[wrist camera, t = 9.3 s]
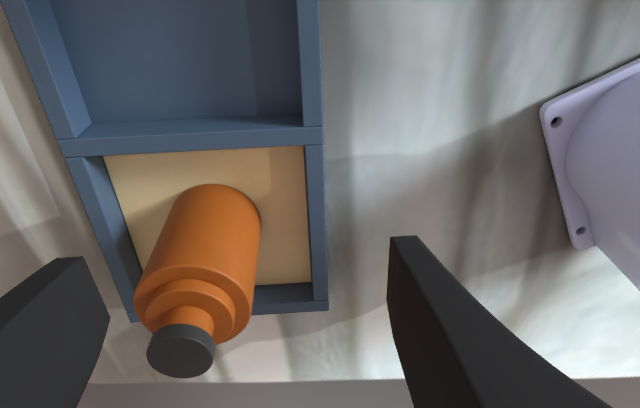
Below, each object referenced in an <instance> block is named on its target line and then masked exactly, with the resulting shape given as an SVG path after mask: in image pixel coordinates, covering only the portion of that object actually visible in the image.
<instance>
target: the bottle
mask: <svg viewBox="0 0 640 408" xmlns="http://www.w3.org/2000/svg"><path fill="white" fill-rule="evenodd" d="M260 233H261V217H260V214H259V211H258V209H257V207H256V206H255V204H254V203H253V202H252V201H251V199H250V198H249V197H247V196H246V195H245V194H244V193H242V192H241V191H239V190H237V189H235V188H232V187H230V186H226V185H221V184H202V185H198V186H194V187H192V188H190V189H188V190H186V191H185V192H183V193H182V194H181V195H180V196H179V197H178V198H177V199H176V200H175V202H174V204H173V206H172V208H171V210H170V213H169V215H168V217H167V219H166V222H165V224H164V226H163V229H162V231H161V233H160V235H159V238H158V240H157V242H156V244H155V247H154V249H153V251H152V253H151V256H150V258H149V260H148V262H147V265H146V267H145V269H144V272H143V274H142V276H141V278H140V281H139V283H138V285H137V287H136V290H135V292H134V297H133V303H134V309H135V312H136V315H137V316H138V318H139V320H140V321H141V322H142V324H143V325H144V326H145V327H146V328H147V329H148V330H150V331H151V332H152V333H153V335H152V337H151V340H150V343H149V346H148V349H147V352H146V356H147V360H148V362H149V364H150V365H151V366H152V367H153V368H154V369H155V370H156V371H158V372H160V373H162V374H164V375H167V376H170V377H175V378H191V377H196V376H199V375H201V374H203V373H205V372H206V371H207V370H208V369H209V368H210V367H211V365H212V363H213V359H214V354H215V348H216V346H215V345H217V344H220V343H223V342H226V341H228V340H230V339H232V338H234V337H235V336H237V335H238V334H239V333H240V332H241V331H242V330H243V329H244V328H245V327H246V325H247V324H248V322H249V320H250V317H251V312H252V303H253V295H254V286H255V277H256V268H257V259H258V251H259V242H260Z"/></svg>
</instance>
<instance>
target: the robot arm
mask: <svg viewBox="0 0 640 408" xmlns="http://www.w3.org/2000/svg"><path fill="white" fill-rule="evenodd" d="M539 116H540V120H541V124H542V128H543V132H544V136H545V140H546V144H547V148H548V152H549V156H550V160H551V164H552V168H553V172H554V176H555V180H556V184H557V188H558V192H559V196H560V200H561V204H562V208H563V212H564V216H565V220H566V224H567V228H568V232H569V236H570V240H571V244H572V245H573V246H574V248H575V249H577V250H584V249H587V248H590V247H593V246H595V245H597V246H598V247H599V249H600V250H601V251H602V252H603V253H604V254H605V255H606V256H607V257H608V258H609V259H610V260H611V261H612V262H613V263H614V264H615V265H616V266H617V267H618V269H619V270H620V271H621V272H622V273H623V274H624V275H625V276H626V277H627V278H628V279H629V280H630V281H631V282H632V283H633V284H634V285H635V286H636V287H637V288H638V290H639V291H640V58H639V59H637V60H634V61H632V62H630V63H628V64H626V65H624V66H622V67H620V68H617V69H615V70H613V71H611V72H609V73H607V74H605V75H602V76H600V77H598V78H596V79H594V80H592V81H590V82H588V83H585V84H583V85H581V86H579V87H577V88H575V89H573V90H571V91H568V92H566V93H564V94H562V95H560V96H558V97H556V98H553V99H551V100H549V101H547V102H546V103H544V104H543V106H542V107H541V109H540V111H539ZM556 117H558V119H557V121H556V122H555V123H554V124H551V121H552V120H553V119H554V118H556ZM580 227H581V228H580ZM578 228H580V229H579V230H577V229H578ZM386 300H387V305H388V311H389V317H390V323H391V328H392V333H393V338H394V342H395V345H396V349H397V352H398V355H399V359H400V362H401V365H402V369H403V372H404V375H405V379H406V382H407V385H408V389H409V392H410V395H411V398H412V402H413V405H414V408H612V407H611V406H610V405H608V404H607V403H605V402H603V401H602V400H601V399H599V398H598V397H596V396H595V395H593V394H592V393H591V392H589V391H588V390H586V389H585V388H583V387H582V386H580V385H579V384H577V383H576V382H574V381H573V380H572V379H570V378H569V377H568V376H566V375H565V374H563V373H562V372H561V371H559V370H558V369H557V368H555V367H554V366H553V365H551V364H550V363H549V362H548V361H546V360H545V359H544V358H542V357H541V356H540V355H539V354H537V353H536V352H535V351H534V350H532V349H531V348H530V347H528V346H527V345H526V344H525V343H524V342H522V341H521V340H520V339H519V338H518V337H517V336H515V335H514V334H513V333H512V332H511V331H510V330H508V329H507V328H506V327H505V326H504V325H503V324H502V323H501V322H500V321H498V320H497V319H496V318H495V317H494V316H493V315H492V314H491V313H490V312H489V311H488V310H487V309H485V308H484V307H483V306H482V305H481V304H480V303H479V302H478V301H477V300H476V299H475V298H474V297H473V296H472V295H471V294H470V293H469V292H468V291H467V290H466V289H465V288H464V287H463V286H462V285H461V284H460V283H459V282H458V281H457V280H456V279H455V278H454V276H453V275H452V274H451V273H450V272H449V271H448V270H447V269H446V268H445V267H444V266H443V265H442V263H441V262H440V261H439V260H438V259H437V258H436V257H435V256H434V255H433V253H432V252H431V251H430V250H429V249H428V248H427V247H426V245H425V244H424V243H423V242H422V241H421V240H420V239H419V238H418V237H417V236H416V235H415V236H399V237H390V248H389V265H388V282H387V298H386ZM109 321H110V315H109V313H108V311H107V309H106V306H105V304H104V302H103V300H102V298H101V295H100V293H99V291H98V289H97V287H96V284H95V282H94V280H93V278H92V276H91V273H90V271H89V269H88V267H87V264H86V262H85V260H84V258H83V256H82V257H66V258H56V259H55V260H53V261H51V262H50V263H48V264H47V265H45V266H44V267H42V268H41V269H39V270H38V271H37V272H35V273H34V274H32V275H31V276H30V277H28V278H27V279H25V280H24V281H23V282H21V283H20V284H19V285H17V286H16V287H15V288H13V289H12V290H11V291H9V292H8V293H7V294H5V295H4V296H2V297H1V298H0V408H76V407H77V405H78V403H79V401H80V398H81V396H82V394H83V392H84V390H85V387H86V385H87V383H88V381H89V378H90V376H91V374H92V372H93V369H94V367H95V365H96V363H97V360H98V358H99V355H100V352H101V348H102V345H103V342H104V339H105V335H106V332H107V328H108V325H109Z"/></svg>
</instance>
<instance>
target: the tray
mask: <svg viewBox="0 0 640 408" xmlns="http://www.w3.org/2000/svg"><path fill="white" fill-rule="evenodd" d="M0 2H1V4H2V7H3V9H4V12H5V14H6V17H7V19H8V22H9V24H10V27H11V29H12V32H13V34H14V37H15V39H16V41H17V44H18V46H19V49H20V51H21V54H22V56H23V59H24V61H25V64H26V66H27V69H28V71H29V74H30V76H31V78H32V81H33V83H34V86H35V88H36V91H37V93H38V96H39V98H40V101H41V103H42V106H43V108H44V111H45V113H46V115H47V118H48V120H49V123H50V125H51V128H52V130H53V133H54V135H55V138H56V139H57V143H58V145H59V148H60V150H61V153H62V155H63V157H64V158H65V162H66V164H67V166H68V169H69V171H70V174H71V176H72V179H73V181H74V184H75V186H76V189H77V191H78V194H79V196H80V199H81V201H82V204H83V206H84V208H85V211H86V213H87V216H88V218H89V221H90V223H91V226H92V228H93V231H94V233H95V236H96V238H97V241H98V243H99V245H100V248H101V250H102V253H103V255H104V258H105V260H106V263H107V265H108V268H109V270H110V273H111V275H112V278H113V280H114V282H115V285H116V287H117V290H118V292H119V295H120V297H121V300H122V302H123V305H124V307H125V310H126V312H127V315H128V317H129V320H130V322H131V323H132V322H141V321H140V320H139V318H138V316H137V315H136V312H135V309H134V303H133V297H134V292H135V290H136V287H137V285H138V283H139V281H140V278H141V276H142V274H143V272H144V269H145V267H146V265H147V262H148V260H149V258H150V256H151V253H152V251H153V249H154V247H155V244H156V242H157V240H158V238H159V235H160V233H161V231H162V229H163V226H164V224H165V222H166V219H167V217H168V215H169V213H170V210H171V208H172V206H173V204H174V202H175V200H176V199H177V198H178V197H179V196H180V195H181V194H182V193H183V192H185V191H186V190H188V189H190V188H192V187H194V186H198V185H202V184H221V185H226V186H230V187H232V188H235V189H237V190H239V191H241V192H242V193H244V194H245V195H246V196H247V197H249V198H250V199H251V201H252V202H253V203H254V204H255V206H256V207H257V209H258V211H259V214H260V217H261V233H260V242H259V251H258V259H257V268H256V277H255V286H254V295H253V303H252V312H251V315H264V314H280V313H297V312H313V311H328V310H329V301H328V269H327V237H326V205H325V173H324V145H323V143H324V140H323V108H322V76H321V44H320V12H319V0H0Z"/></svg>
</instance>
